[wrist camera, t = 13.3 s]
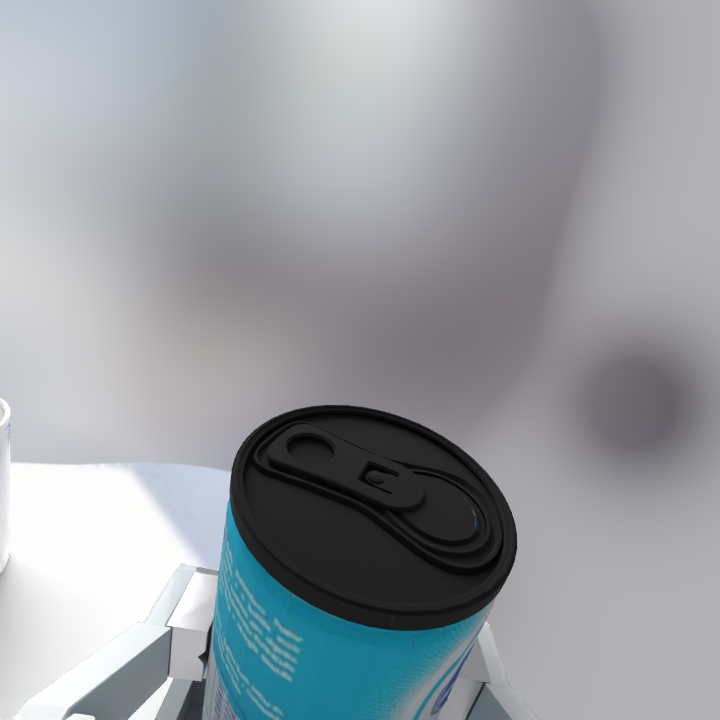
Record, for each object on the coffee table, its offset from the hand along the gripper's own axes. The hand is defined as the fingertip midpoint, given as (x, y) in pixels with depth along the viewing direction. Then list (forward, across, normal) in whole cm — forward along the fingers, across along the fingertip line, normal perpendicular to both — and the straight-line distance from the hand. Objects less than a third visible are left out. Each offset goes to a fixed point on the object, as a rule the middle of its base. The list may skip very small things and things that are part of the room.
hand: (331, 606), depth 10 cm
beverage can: (-1, 0, +10) cm, 10 cm away
